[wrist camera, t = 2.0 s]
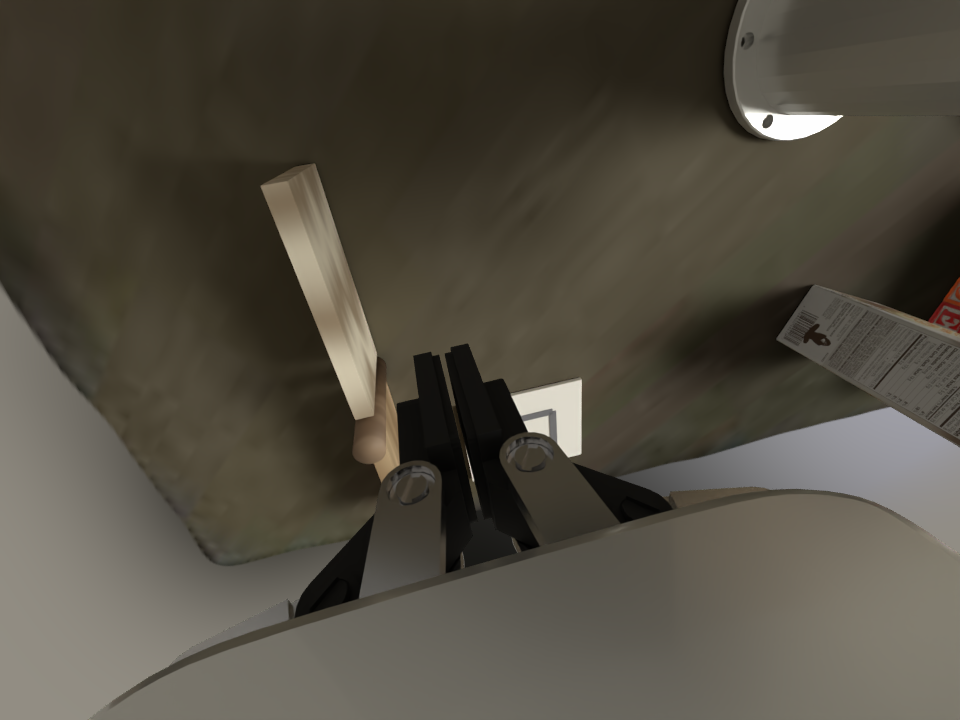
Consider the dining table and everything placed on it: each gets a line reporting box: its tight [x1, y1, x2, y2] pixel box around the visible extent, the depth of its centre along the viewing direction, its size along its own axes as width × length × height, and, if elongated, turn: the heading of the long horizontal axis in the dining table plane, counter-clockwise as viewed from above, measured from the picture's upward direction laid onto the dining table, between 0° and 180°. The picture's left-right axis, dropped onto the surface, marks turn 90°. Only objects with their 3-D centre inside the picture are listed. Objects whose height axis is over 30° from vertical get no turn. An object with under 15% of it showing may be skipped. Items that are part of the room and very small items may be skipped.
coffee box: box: [776, 285, 960, 447], centre depth 34 cm, size 9×6×16 cm
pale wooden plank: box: [261, 163, 377, 420], centre depth 25 cm, size 14×1×8 cm, turn 8°
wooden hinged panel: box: [352, 357, 400, 483], centre depth 33 cm, size 2×16×10 cm, turn 8°
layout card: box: [465, 377, 582, 481], centre depth 40 cm, size 12×10×1 cm
